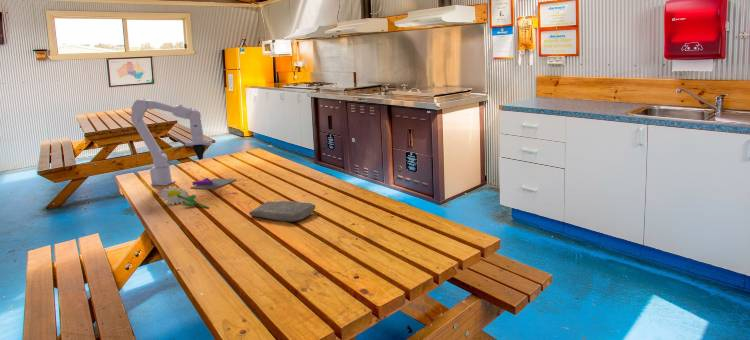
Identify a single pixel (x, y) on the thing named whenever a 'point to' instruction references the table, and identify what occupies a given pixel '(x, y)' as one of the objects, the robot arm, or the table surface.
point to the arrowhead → (203, 182)
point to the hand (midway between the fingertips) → (200, 159)
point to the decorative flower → (178, 196)
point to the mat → (214, 184)
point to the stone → (284, 210)
